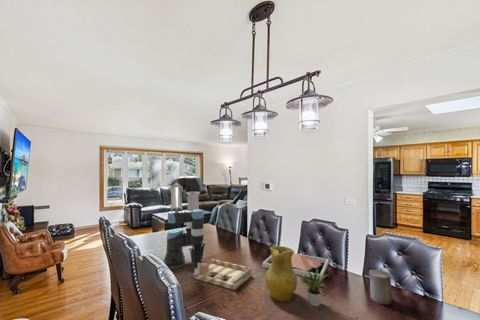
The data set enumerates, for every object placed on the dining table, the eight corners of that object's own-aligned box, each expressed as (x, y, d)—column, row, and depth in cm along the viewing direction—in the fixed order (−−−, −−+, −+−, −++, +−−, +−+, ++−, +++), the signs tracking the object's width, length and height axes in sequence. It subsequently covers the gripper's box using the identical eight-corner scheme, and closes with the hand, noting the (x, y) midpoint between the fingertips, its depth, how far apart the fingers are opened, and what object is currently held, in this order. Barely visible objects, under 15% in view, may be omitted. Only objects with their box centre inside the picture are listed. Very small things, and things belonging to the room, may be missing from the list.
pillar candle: (393, 299, 123) (391, 270, 123) (389, 307, 115) (388, 276, 116) (372, 293, 129) (371, 265, 130) (368, 300, 122) (367, 271, 123)
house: (311, 277, 147) (310, 264, 147) (268, 263, 169) (268, 252, 169) (325, 267, 164) (325, 255, 164) (285, 255, 186) (285, 245, 186)
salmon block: (197, 272, 149) (198, 264, 149) (202, 269, 153) (202, 262, 153) (204, 274, 146) (204, 266, 146) (208, 271, 151) (208, 263, 151)
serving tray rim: (262, 267, 163) (262, 262, 163) (277, 253, 190) (277, 250, 190) (321, 280, 144) (321, 275, 144) (328, 263, 170) (328, 259, 170)
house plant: (324, 295, 126) (324, 264, 127) (336, 310, 113) (335, 276, 113) (299, 295, 126) (298, 265, 127) (307, 311, 112) (306, 276, 113)
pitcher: (258, 294, 127) (260, 247, 128) (278, 284, 140) (280, 242, 141) (284, 308, 114) (286, 257, 116) (303, 296, 127) (305, 250, 129)
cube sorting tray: (193, 277, 147) (193, 269, 147) (212, 266, 165) (212, 259, 165) (235, 290, 132) (235, 281, 132) (251, 275, 150) (251, 267, 150)
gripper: (195, 238, 138) (194, 278, 137) (208, 233, 149) (208, 270, 148) (185, 236, 141) (185, 275, 140) (199, 231, 153) (199, 267, 152)
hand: (197, 272), depth 144 cm, fingers closed
